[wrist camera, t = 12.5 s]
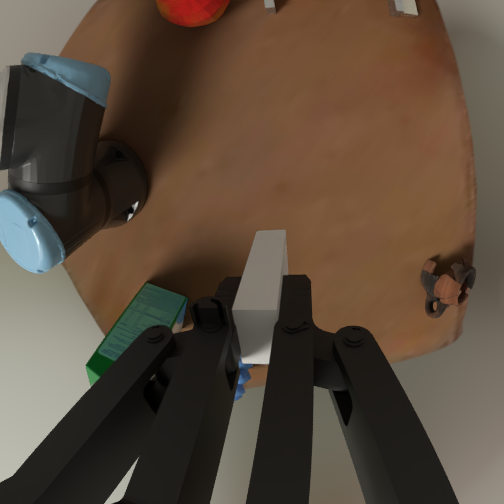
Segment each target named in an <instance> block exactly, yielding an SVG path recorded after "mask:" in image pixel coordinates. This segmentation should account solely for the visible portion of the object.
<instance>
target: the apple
mask: <svg viewBox="0 0 504 504" xmlns="http://www.w3.org/2000/svg"><path fill="white" fill-rule="evenodd" d="M229 2H230V0H156V4H157V7H158V9H159V12H160V14H161V16H162V17H164V18H165V19H167V20H168V21H170V22H171V23H174V24H177V25H180V26H186V27H196V26H203V25H208V24H210V23H212V22H215V21H217V20H218V19H219V18H220V17H221V16H222V14H223V13H224V11H225V9H226V7H227V5H228V4H229Z"/></svg>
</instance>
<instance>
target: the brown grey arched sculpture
mask: <svg viewBox="0 0 504 504" xmlns="http://www.w3.org/2000/svg"><path fill="white" fill-rule="evenodd" d="M461 259H462V261H463V264H457V263H454V264H452V265H451V268H452V269H453V270H454V274H455V280H454V279H453V278H451V277H450V276H449V275H447V274H443V275H441V276H440V277H439V276H436V275H434V274H433V272H434V269H435V267H436V265H437V263H436V262H434V261H432V260H430V259H428V260H427V262H426V263H425V265H424V268H423V271H422V274H421V284H422V286H423V287H424V288H425V290H426V291H427V298H426V302H425V310H426V313H427V315H428V317H431V318H438V317H440V316H441V315H442V314H443V312H444V311H445V309H446V308H447V307H449V305H453V304H454V305H455V306H456V307H458V306H460V305H462V304H463V303H464V301H465V300H466V299H467V297H468V294H466V293H465V292H466V290H467V287H469V288H470V289H472V287H473V284H474V281H475V277H476V271H475V268H474V267H471V266H470V264H469V262H468V261H467V260H466V259H465V258H464V257H461ZM460 290H461V291H462V292H461V294H460V295H459V297H458V294H459V291H460ZM439 298H440V299H439ZM434 302H437V309H436V311H434V309H433V303H434Z"/></svg>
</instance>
